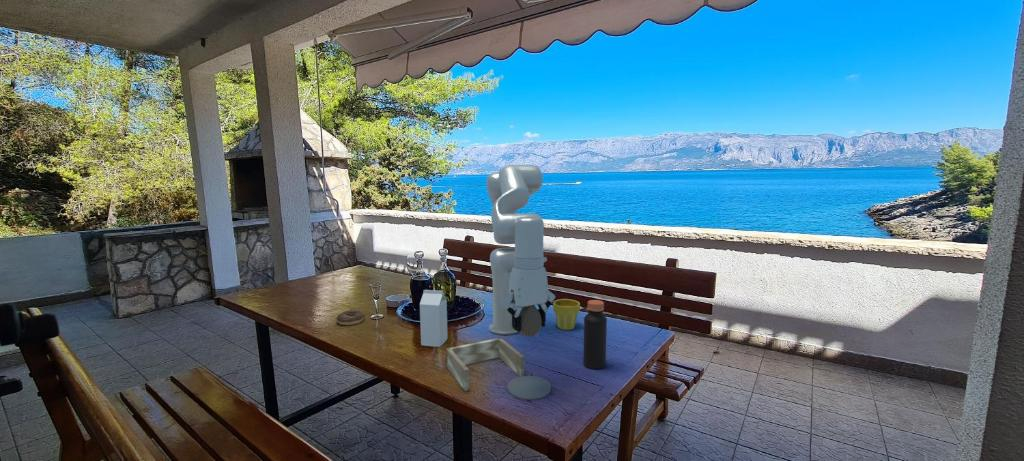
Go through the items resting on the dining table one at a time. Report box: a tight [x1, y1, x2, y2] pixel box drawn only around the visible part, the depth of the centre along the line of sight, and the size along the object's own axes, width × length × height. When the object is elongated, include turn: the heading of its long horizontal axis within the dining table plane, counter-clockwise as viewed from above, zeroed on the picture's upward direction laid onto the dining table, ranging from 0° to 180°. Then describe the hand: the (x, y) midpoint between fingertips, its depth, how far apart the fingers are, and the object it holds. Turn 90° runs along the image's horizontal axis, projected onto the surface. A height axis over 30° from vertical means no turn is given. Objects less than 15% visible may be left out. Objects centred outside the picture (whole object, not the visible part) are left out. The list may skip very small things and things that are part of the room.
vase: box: [519, 305, 542, 338], centre depth 109 cm, size 7×7×9 cm
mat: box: [506, 375, 552, 401], centre depth 112 cm, size 12×12×1 cm
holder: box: [445, 337, 525, 392], centre depth 121 cm, size 18×16×6 cm
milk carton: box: [419, 289, 448, 348], centre depth 142 cm, size 7×7×19 cm
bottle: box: [582, 299, 608, 370], centre depth 125 cm, size 7×7×20 cm
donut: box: [336, 309, 366, 326], centre depth 165 cm, size 11×11×4 cm
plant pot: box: [552, 298, 581, 331], centre depth 158 cm, size 10×10×10 cm
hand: (529, 327), depth 110 cm, fingers closed on vase, 6 cm apart
